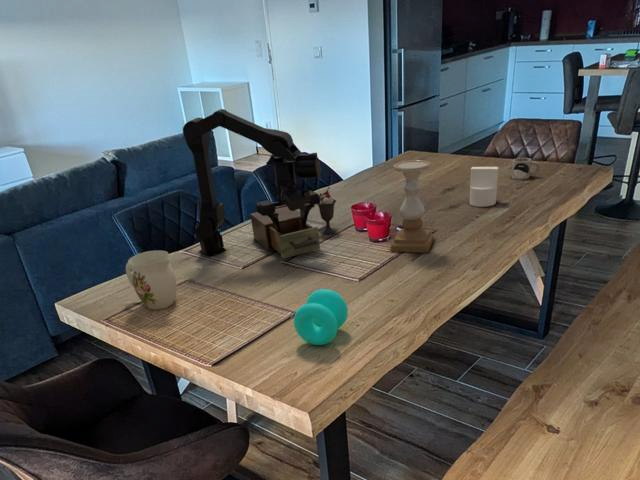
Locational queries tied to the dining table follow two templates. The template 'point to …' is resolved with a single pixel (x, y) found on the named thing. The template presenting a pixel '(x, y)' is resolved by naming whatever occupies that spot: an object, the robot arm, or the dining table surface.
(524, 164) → the mug
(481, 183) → the cylinder with rectangular tab
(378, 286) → the dining table surface
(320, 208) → the sundae
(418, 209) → the candle holder
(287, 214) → the cabinet
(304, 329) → the teal spool
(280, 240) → the drawer
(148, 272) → the pitcher
